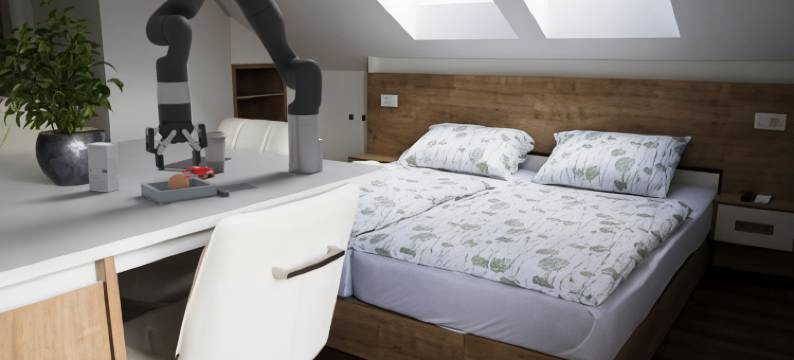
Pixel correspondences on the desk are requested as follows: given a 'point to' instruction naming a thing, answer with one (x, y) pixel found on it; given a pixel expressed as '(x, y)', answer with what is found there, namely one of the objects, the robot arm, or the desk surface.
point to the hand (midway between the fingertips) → (178, 167)
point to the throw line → (222, 192)
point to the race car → (199, 172)
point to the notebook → (188, 164)
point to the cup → (215, 150)
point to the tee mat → (237, 187)
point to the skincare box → (103, 167)
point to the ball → (178, 182)
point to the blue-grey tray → (177, 191)
